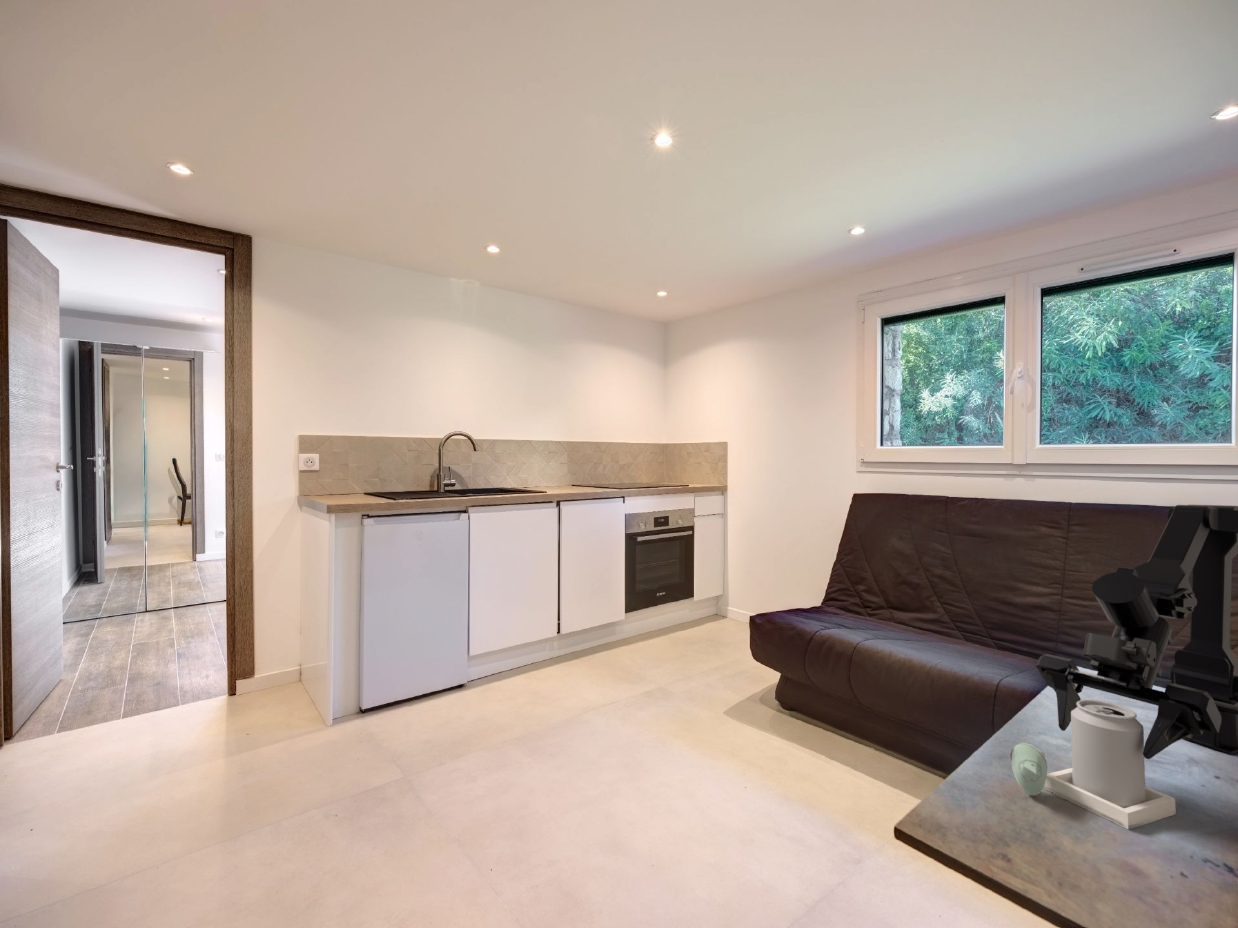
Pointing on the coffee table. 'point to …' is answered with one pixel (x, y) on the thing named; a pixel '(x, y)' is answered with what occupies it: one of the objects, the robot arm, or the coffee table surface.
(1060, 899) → the coffee table surface
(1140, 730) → the can
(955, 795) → the coffee table surface
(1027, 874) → the coffee table surface
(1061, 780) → the tray
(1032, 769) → the green oval piece
